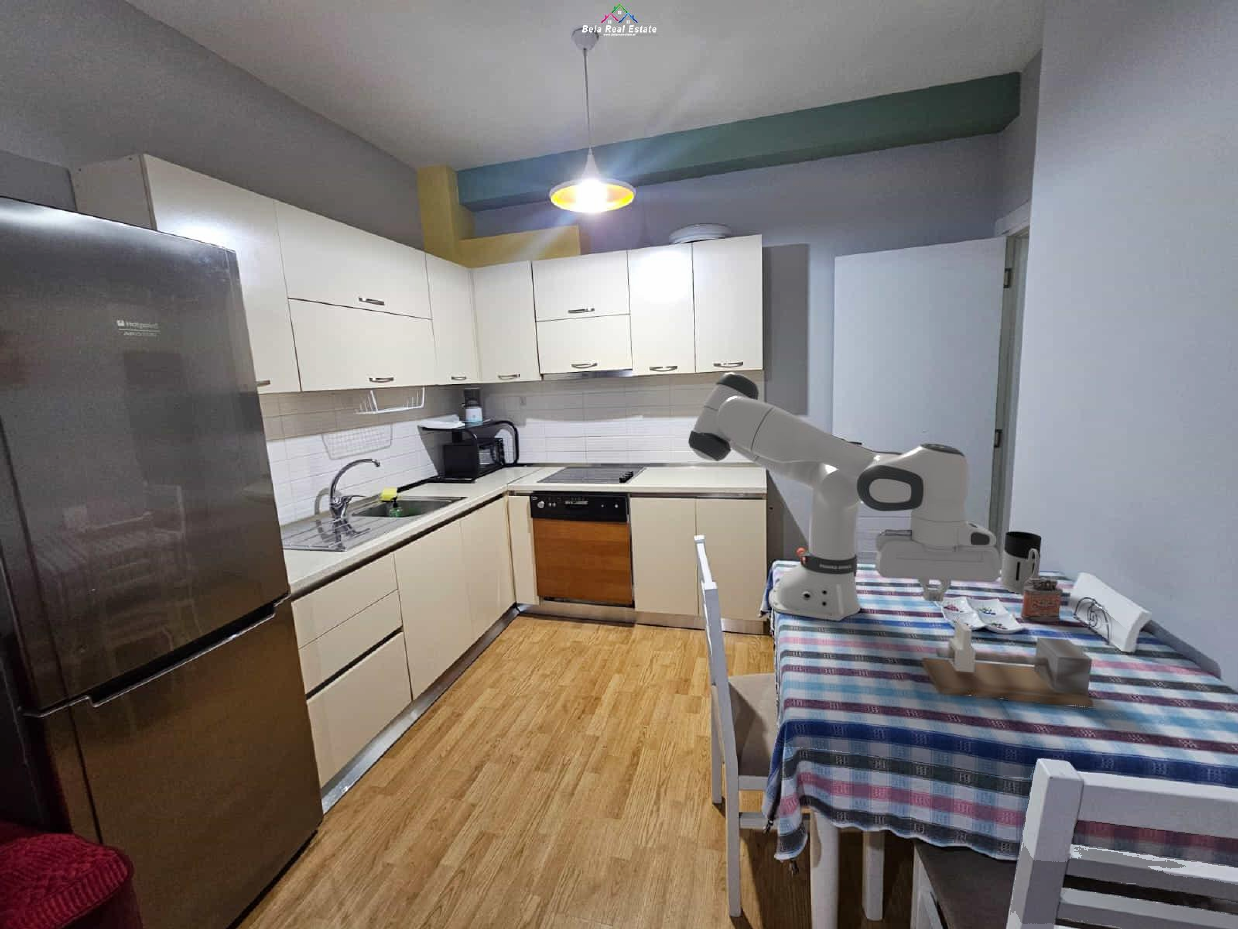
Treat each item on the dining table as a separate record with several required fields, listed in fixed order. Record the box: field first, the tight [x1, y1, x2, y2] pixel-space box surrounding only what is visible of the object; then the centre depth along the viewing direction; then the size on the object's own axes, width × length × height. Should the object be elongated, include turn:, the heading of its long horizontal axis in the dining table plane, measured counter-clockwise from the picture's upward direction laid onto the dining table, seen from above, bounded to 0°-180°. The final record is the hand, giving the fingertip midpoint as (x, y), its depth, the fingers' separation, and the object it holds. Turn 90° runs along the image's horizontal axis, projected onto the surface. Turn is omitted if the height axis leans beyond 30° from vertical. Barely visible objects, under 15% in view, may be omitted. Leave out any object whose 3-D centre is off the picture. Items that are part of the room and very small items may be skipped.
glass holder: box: [998, 530, 1042, 594], centre depth 135 cm, size 9×14×15 cm, turn 160°
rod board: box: [921, 637, 1094, 708], centre depth 97 cm, size 24×10×8 cm, turn 76°
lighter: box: [1020, 576, 1063, 622], centre depth 122 cm, size 8×3×10 cm, turn 84°
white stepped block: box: [946, 618, 977, 672], centre depth 98 cm, size 3×4×8 cm
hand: (932, 600), depth 98 cm, fingers closed
